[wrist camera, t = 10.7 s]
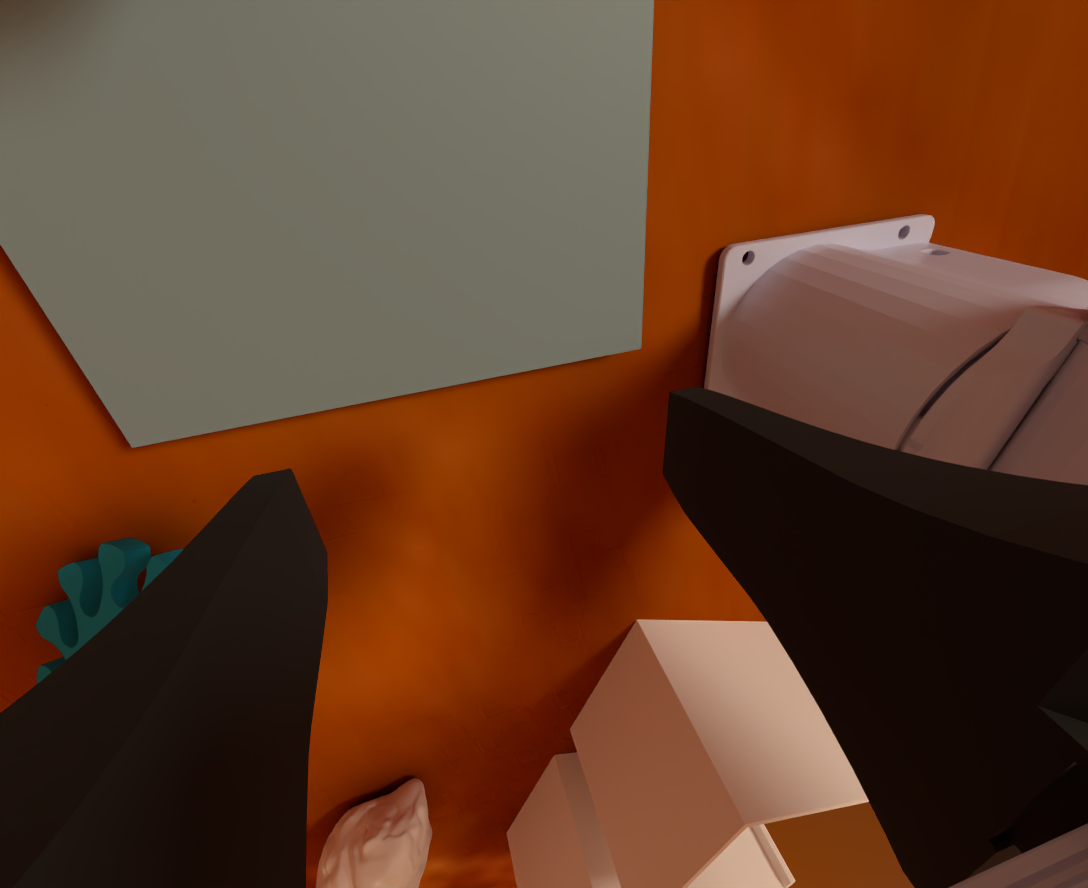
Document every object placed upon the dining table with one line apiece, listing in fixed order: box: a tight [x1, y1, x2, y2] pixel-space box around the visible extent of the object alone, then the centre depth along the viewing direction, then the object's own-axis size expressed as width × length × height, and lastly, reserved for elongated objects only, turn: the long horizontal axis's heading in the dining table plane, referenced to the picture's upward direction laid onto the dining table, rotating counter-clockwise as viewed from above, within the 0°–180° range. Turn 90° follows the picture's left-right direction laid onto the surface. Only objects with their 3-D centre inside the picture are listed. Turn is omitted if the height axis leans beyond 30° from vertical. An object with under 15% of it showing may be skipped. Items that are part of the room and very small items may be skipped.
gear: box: [36, 538, 183, 684], centre depth 19 cm, size 11×6×10 cm
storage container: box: [507, 620, 869, 888], centre depth 33 cm, size 25×11×11 cm, turn 160°
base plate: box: [0, 0, 654, 448], centre depth 12 cm, size 17×20×1 cm
